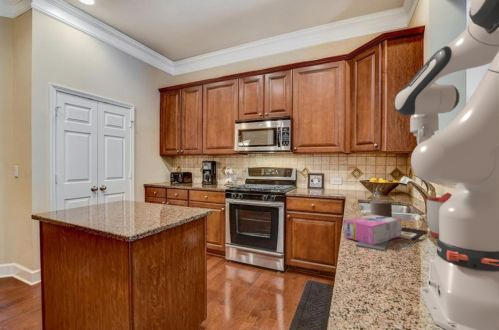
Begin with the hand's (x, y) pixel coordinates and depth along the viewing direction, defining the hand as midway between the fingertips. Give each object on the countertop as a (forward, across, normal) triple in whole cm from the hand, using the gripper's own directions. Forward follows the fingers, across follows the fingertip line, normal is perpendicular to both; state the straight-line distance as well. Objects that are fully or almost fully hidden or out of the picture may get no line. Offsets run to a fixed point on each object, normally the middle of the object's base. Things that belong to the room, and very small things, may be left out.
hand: (424, 163), depth 92 cm
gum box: (+29, +3, +12) cm, 31 cm away
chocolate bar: (+34, +22, +6) cm, 41 cm away
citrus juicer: (+33, +25, -9) cm, 43 cm away
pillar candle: (+33, +26, +18) cm, 46 cm away
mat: (+33, +2, +17) cm, 37 cm away
